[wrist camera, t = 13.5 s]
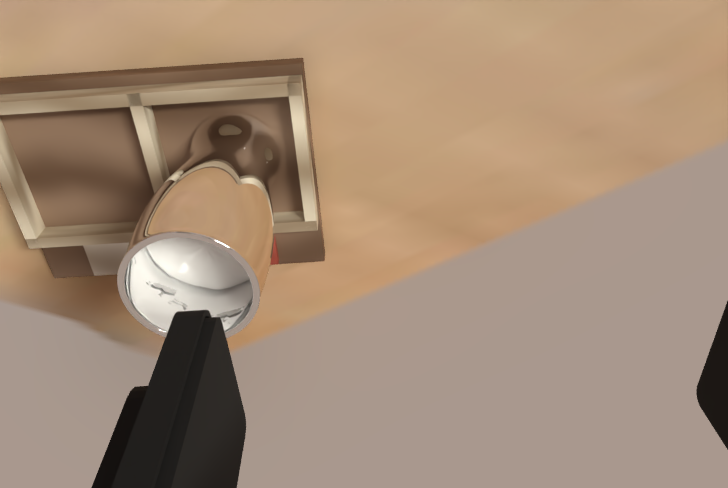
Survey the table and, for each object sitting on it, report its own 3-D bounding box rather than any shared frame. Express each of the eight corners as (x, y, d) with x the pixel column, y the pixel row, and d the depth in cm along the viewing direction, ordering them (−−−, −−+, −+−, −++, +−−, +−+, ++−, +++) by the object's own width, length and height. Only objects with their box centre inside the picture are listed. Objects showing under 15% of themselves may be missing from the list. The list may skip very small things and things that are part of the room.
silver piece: (269, 212, 43) (239, 362, 30) (173, 179, 41) (99, 323, 29) (303, 128, 40) (285, 258, 27) (199, 88, 38) (128, 206, 25)
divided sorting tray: (-19, 79, 38) (-41, 93, 36) (303, 58, 38) (300, 71, 36) (60, 268, 47) (46, 290, 44) (324, 252, 46) (324, 272, 44)
